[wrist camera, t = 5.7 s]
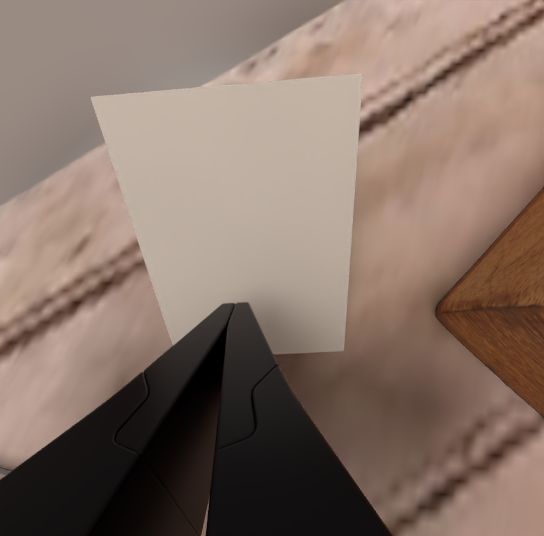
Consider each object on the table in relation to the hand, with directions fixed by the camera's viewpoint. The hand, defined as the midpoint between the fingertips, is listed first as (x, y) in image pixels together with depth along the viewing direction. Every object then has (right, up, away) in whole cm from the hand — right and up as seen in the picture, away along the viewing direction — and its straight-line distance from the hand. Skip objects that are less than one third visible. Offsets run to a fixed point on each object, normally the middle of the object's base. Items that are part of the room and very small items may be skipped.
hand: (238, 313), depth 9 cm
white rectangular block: (0, -2, +6) cm, 6 cm away
